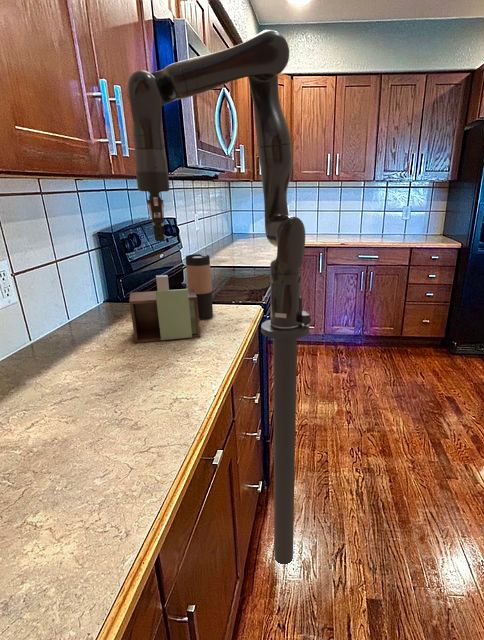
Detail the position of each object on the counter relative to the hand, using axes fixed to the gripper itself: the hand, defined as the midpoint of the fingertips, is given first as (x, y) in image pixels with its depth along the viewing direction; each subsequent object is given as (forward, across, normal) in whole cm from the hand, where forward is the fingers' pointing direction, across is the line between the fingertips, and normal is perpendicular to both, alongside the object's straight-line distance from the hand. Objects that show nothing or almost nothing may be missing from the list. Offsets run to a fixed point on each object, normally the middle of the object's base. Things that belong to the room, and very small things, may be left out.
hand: (159, 238), depth 109 cm
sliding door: (+28, 0, -2) cm, 28 cm away
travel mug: (+28, +21, -12) cm, 37 cm away
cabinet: (+28, +6, 0) cm, 29 cm away
